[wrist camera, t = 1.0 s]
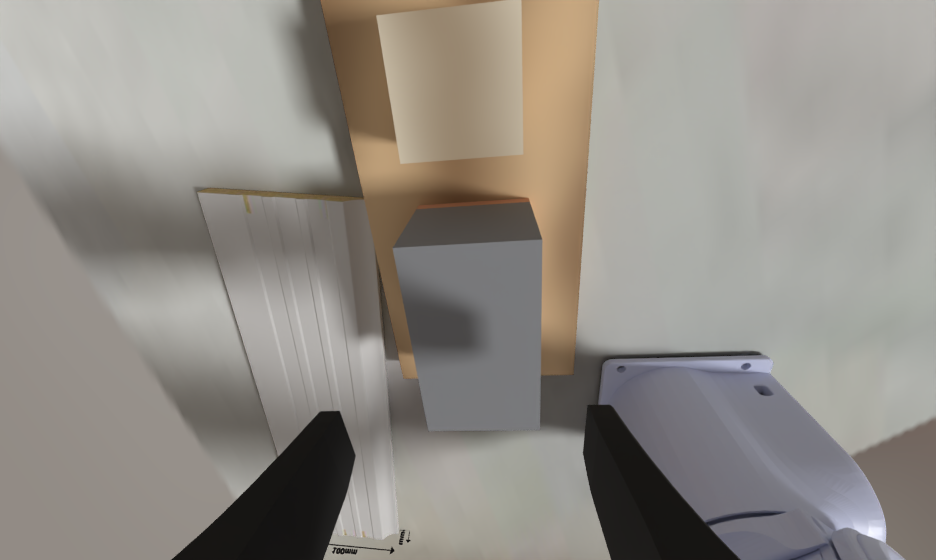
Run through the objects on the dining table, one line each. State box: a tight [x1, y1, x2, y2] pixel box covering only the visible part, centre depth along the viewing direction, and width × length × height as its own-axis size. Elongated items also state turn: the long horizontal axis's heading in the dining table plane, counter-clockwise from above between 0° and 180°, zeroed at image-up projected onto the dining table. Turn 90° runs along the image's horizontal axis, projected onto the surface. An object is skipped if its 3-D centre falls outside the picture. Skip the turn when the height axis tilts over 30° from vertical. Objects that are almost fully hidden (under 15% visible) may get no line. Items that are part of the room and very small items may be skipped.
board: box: [320, 0, 599, 379], centre depth 17 cm, size 10×22×2 cm, turn 5°
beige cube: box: [376, 0, 523, 164], centre depth 13 cm, size 4×4×4 cm
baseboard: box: [197, 188, 410, 554], centre depth 25 cm, size 30×3×10 cm
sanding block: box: [393, 198, 542, 431], centre depth 16 cm, size 5×9×5 cm, turn 5°
